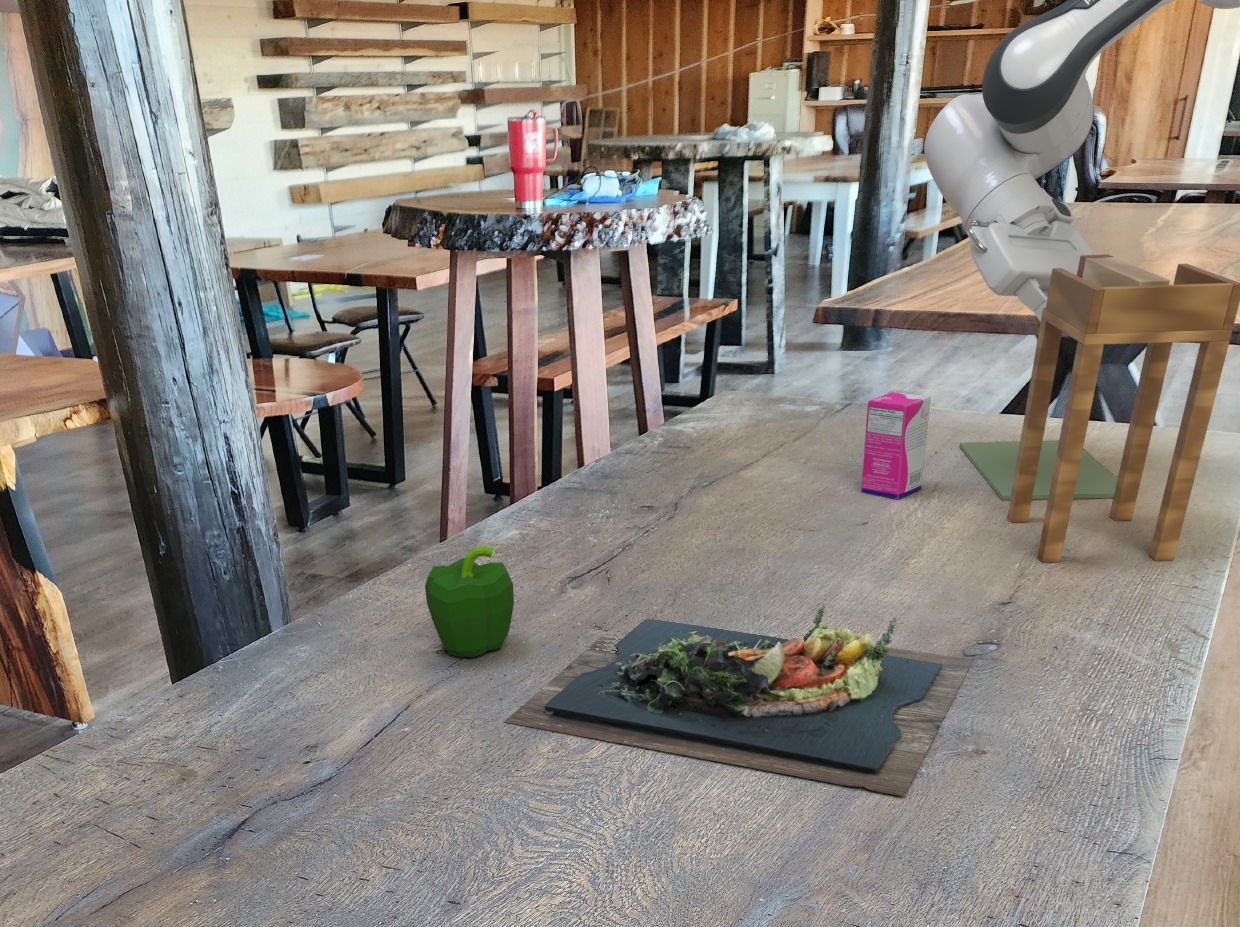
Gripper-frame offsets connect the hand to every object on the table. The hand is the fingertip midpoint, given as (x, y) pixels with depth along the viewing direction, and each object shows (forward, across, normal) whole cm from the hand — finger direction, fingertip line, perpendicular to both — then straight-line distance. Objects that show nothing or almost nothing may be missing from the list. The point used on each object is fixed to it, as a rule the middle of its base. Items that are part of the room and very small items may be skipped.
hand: (1072, 318), depth 137 cm
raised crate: (+24, -8, +8) cm, 26 cm away
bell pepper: (+11, -76, +32) cm, 83 cm away
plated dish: (+29, -65, +14) cm, 72 cm away
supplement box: (+3, -8, +26) cm, 28 cm away
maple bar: (+5, -7, -7) cm, 11 cm away
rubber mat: (+8, +13, +18) cm, 24 cm away
